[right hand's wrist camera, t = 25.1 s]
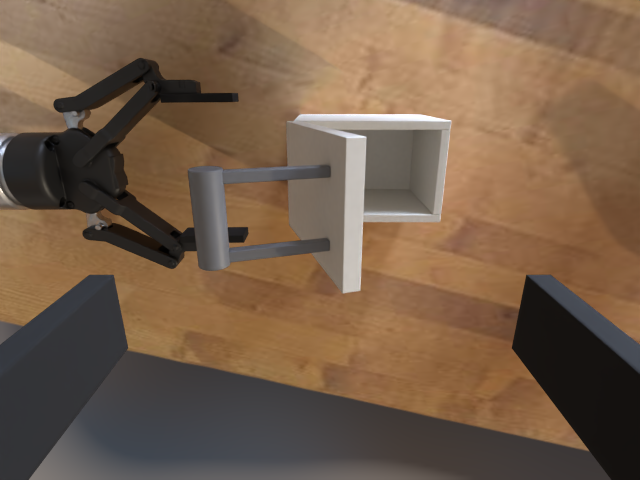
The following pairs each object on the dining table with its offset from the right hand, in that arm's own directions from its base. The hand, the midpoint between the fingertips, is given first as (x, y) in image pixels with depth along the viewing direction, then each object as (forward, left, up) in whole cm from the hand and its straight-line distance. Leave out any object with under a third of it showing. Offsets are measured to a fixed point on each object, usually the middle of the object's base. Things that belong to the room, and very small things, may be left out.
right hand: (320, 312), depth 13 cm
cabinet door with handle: (0, 0, -17) cm, 17 cm away
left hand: (+5, -6, -28) cm, 29 cm away
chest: (-2, +4, -35) cm, 35 cm away
